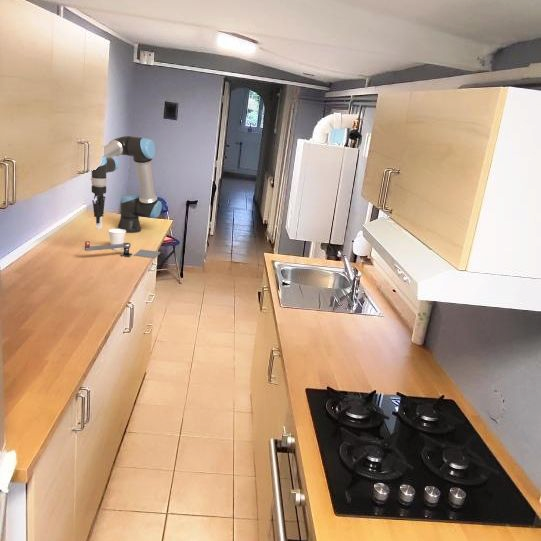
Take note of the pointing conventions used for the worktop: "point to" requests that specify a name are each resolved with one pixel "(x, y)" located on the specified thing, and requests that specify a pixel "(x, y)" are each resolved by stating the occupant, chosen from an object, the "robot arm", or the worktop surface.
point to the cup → (117, 237)
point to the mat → (147, 253)
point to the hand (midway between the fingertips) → (98, 228)
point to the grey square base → (126, 253)
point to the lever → (105, 246)
